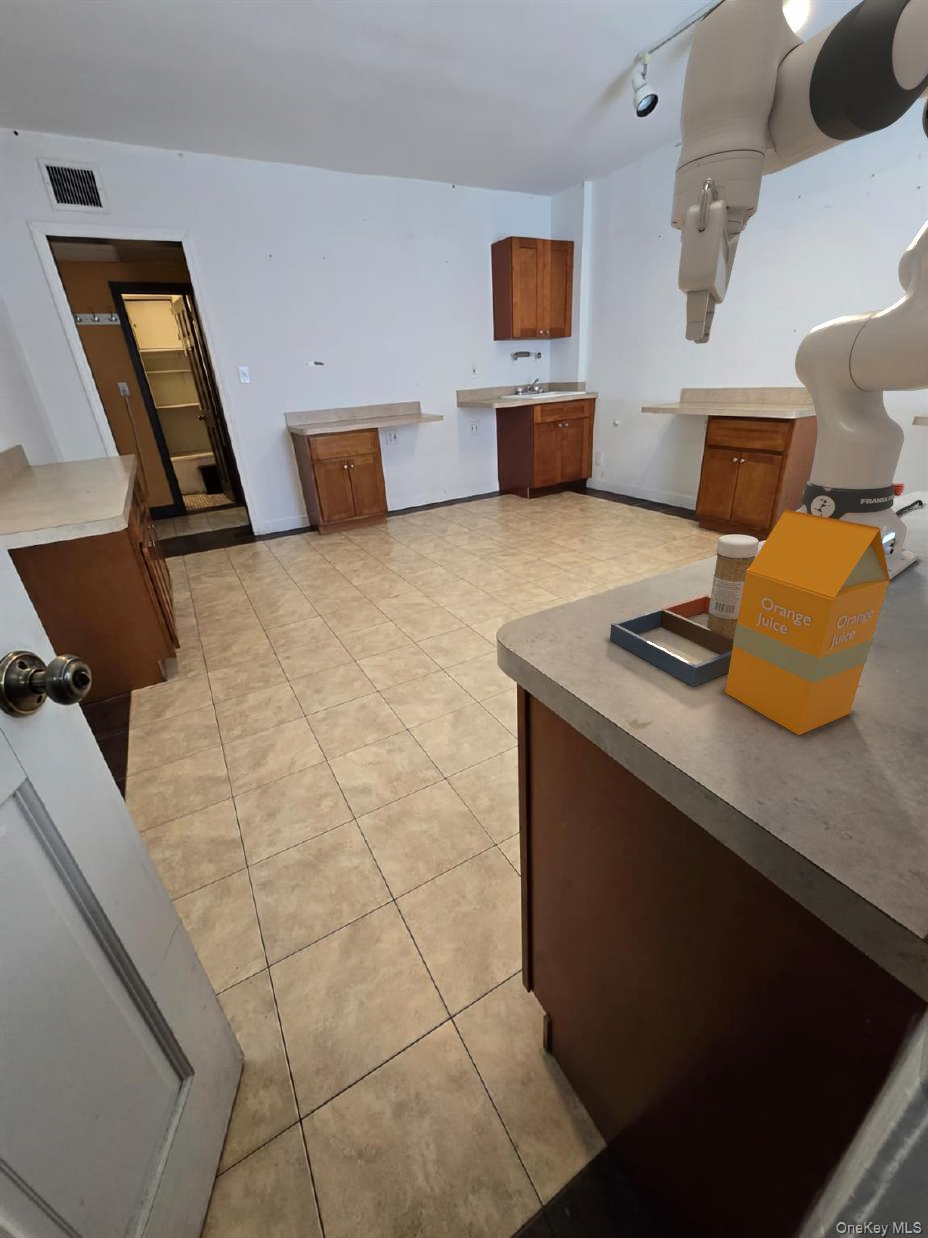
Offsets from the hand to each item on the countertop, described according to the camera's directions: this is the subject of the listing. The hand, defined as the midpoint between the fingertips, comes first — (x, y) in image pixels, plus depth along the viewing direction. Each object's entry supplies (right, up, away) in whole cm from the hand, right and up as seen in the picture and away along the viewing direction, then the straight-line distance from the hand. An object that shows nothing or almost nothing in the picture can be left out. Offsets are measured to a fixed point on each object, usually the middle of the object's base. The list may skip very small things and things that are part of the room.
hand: (697, 341), depth 63 cm
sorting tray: (+3, -37, +5) cm, 37 cm away
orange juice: (+6, -43, -8) cm, 44 cm away
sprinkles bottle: (+7, -36, +7) cm, 37 cm away
